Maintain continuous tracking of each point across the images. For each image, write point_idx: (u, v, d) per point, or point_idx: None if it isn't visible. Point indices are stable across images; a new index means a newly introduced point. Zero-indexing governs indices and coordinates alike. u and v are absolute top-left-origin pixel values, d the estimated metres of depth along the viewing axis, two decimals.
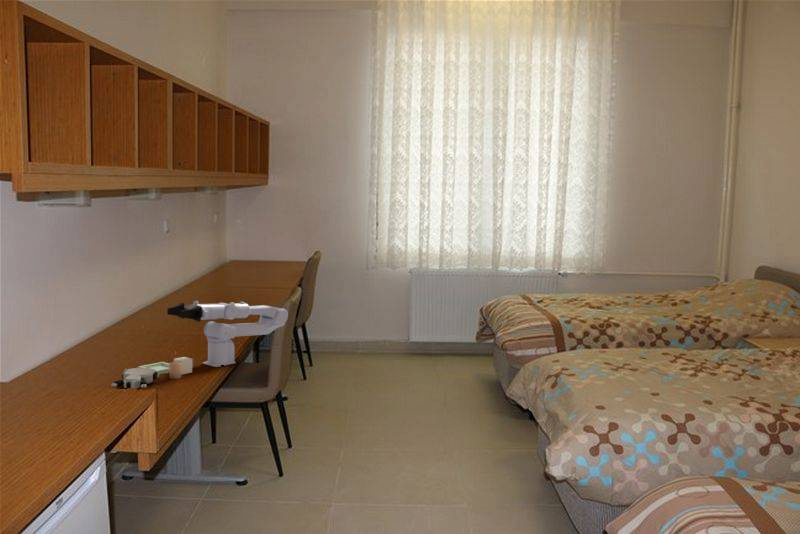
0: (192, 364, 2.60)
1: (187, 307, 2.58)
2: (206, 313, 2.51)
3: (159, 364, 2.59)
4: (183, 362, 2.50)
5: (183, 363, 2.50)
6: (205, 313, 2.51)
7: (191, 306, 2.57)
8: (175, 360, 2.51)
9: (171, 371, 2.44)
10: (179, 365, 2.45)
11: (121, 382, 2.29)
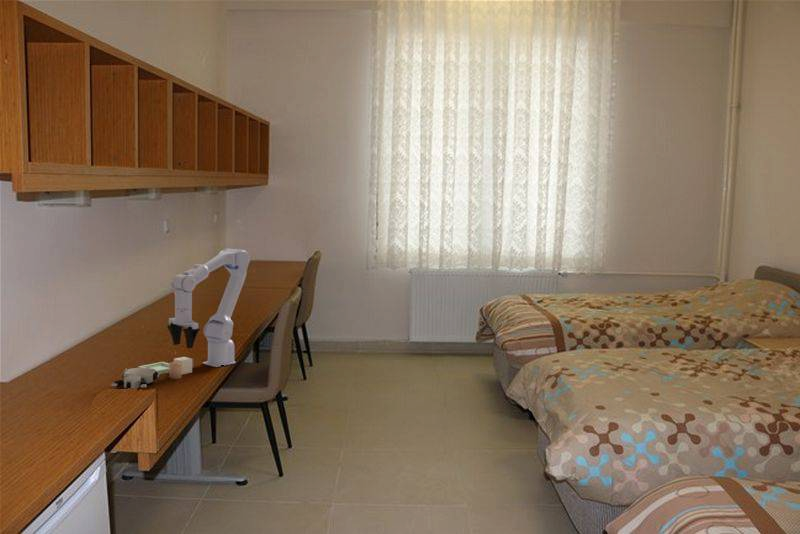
0: (192, 364, 2.60)
1: None
2: (194, 326, 2.47)
3: (159, 364, 2.59)
4: (184, 362, 2.50)
5: (183, 363, 2.50)
6: (194, 327, 2.47)
7: None
8: (175, 360, 2.51)
9: (171, 371, 2.44)
10: (179, 365, 2.45)
11: (121, 382, 2.29)
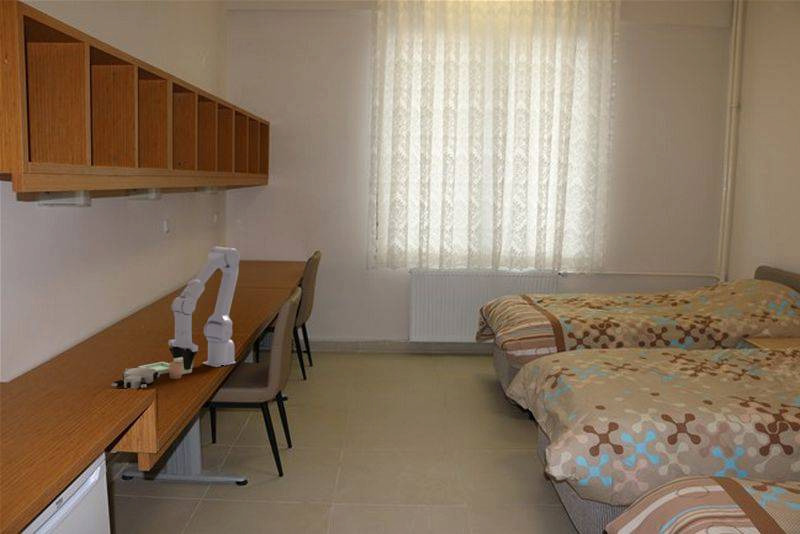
0: (192, 364, 2.60)
1: None
2: (194, 349, 2.47)
3: (159, 364, 2.59)
4: (183, 362, 2.50)
5: (183, 363, 2.50)
6: (194, 350, 2.47)
7: None
8: (175, 360, 2.52)
9: (171, 371, 2.44)
10: (179, 365, 2.45)
11: (121, 382, 2.29)
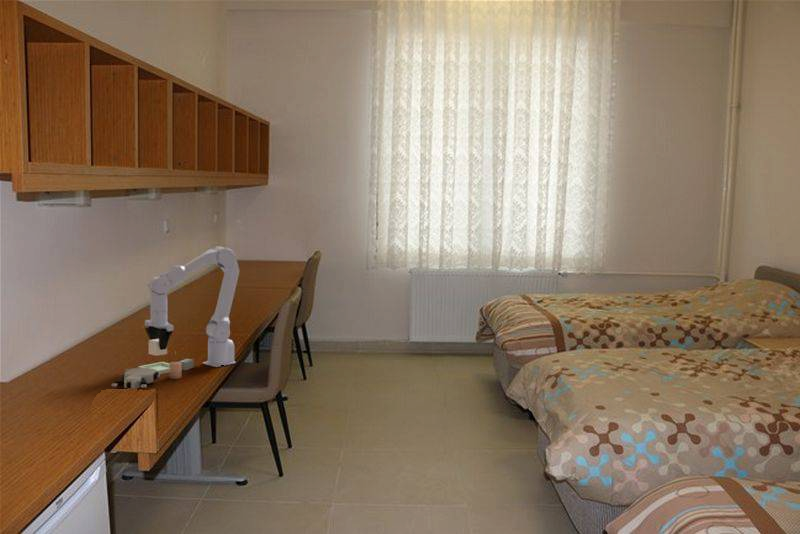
0: (192, 364, 2.60)
1: None
2: (170, 328, 2.48)
3: (159, 364, 2.59)
4: (158, 343, 2.51)
5: (157, 344, 2.51)
6: (169, 329, 2.48)
7: None
8: (150, 341, 2.52)
9: (171, 371, 2.44)
10: (179, 365, 2.45)
11: (121, 382, 2.29)
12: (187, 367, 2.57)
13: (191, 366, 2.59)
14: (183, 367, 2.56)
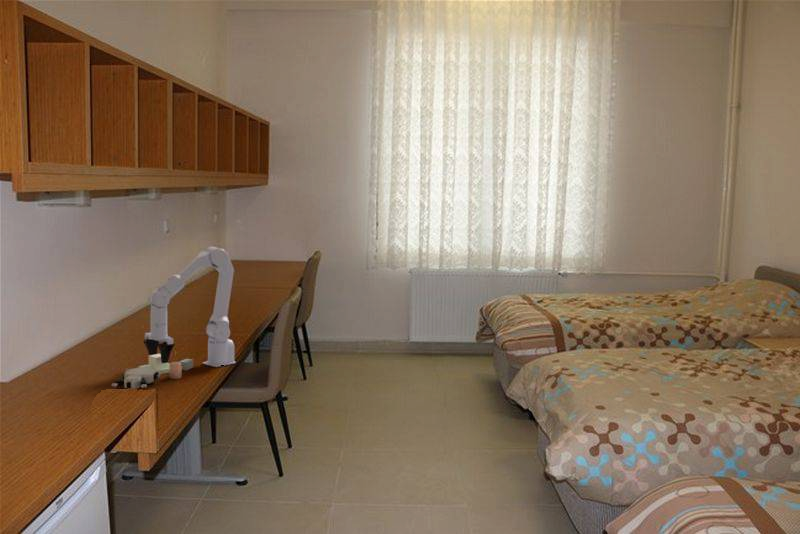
0: (192, 364, 2.60)
1: None
2: (170, 341, 2.48)
3: None
4: (158, 359, 2.51)
5: (157, 360, 2.51)
6: (169, 343, 2.49)
7: None
8: (150, 357, 2.53)
9: (171, 371, 2.44)
10: (179, 365, 2.45)
11: (121, 382, 2.29)
12: (187, 367, 2.57)
13: (191, 366, 2.60)
14: (183, 367, 2.56)
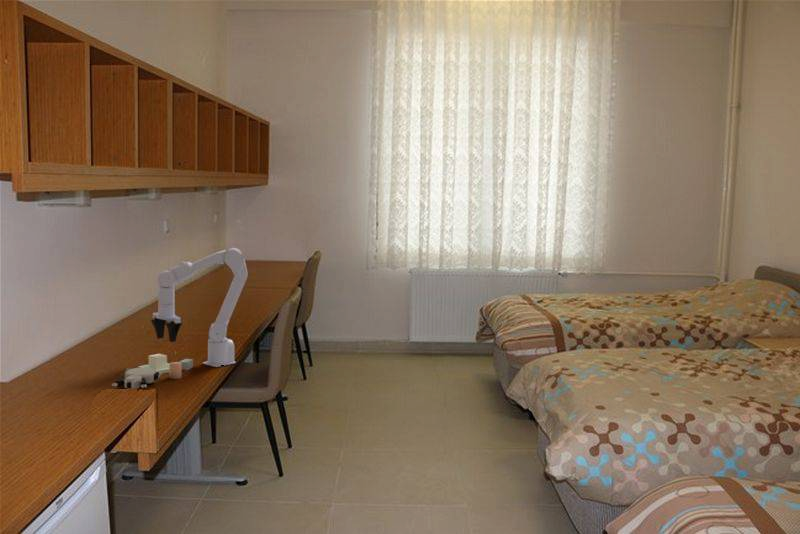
0: (192, 364, 2.60)
1: None
2: (177, 320, 2.56)
3: None
4: (158, 359, 2.51)
5: (157, 360, 2.51)
6: (177, 321, 2.56)
7: None
8: (150, 357, 2.53)
9: (171, 371, 2.44)
10: (179, 365, 2.45)
11: (122, 382, 2.29)
12: (188, 367, 2.57)
13: (191, 366, 2.60)
14: (184, 367, 2.56)
